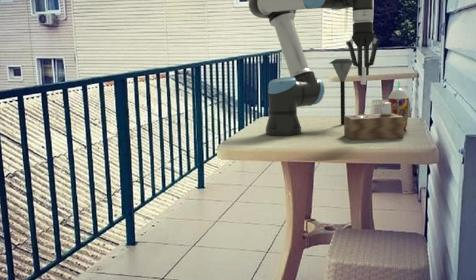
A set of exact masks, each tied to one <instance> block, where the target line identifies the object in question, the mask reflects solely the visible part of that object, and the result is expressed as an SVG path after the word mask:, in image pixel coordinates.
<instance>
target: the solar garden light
mask: <svg viewBox="0 0 476 280" xmlns="http://www.w3.org/2000/svg"><path fill="white" fill-rule="evenodd" d="M328 64H329V65H330V64H332V66H333V68H334V71H335V73H336V75H337V77H338V79H339V83H340V84H339V85H340V125H341V126H344V116H346V107H345V106H346V103H345V102H346V97H345V96H346V95H345V93H346V92H345V91H346V90H345V87H346V85H345V82H346V79H347V77H348V75H349V72H350V70H351V67H352V65H353V63H352V59H351V58H335V59H333V60H332V61H330V62H329V63H328Z"/></svg>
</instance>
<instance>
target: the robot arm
mask: <svg viewBox="0 0 476 280" xmlns="http://www.w3.org/2000/svg"><path fill="white" fill-rule="evenodd" d="M373 7H374V6H373V0H248V9H249V11H250V12H251V14H252V15H253V16H255V17H257V18H260V19H268V22H269V24H270V26H271V27H274V29H275V32H276V35H277V38H278V42H279V43H280V47H281V51H282V54H283V56H284V61H285V62H286V66H287V69H288V73H289V76H286V77H279V78H276V79H272V80H270V81H269V83H268V90H267V93H268V111H269V113H268V114H269V115H268V120H267V123H266V127H265V135H267V136H275V137H276V136H281V137H283V136H284V137H285V136H294V135H295V136H296V135H300V134H301V133H302V126H301V124H300V120H299V118H298V114H297V113H298V112H297V111H298V110H297V108H299V107H308V106H309V107H310V106H314V105H318V104H319V103H320V102H321V101H322V99H323V98H324V95H325V85H324V82H323V80H321V79H320V78H318V77H316V75H315V72H314V70H311V69H310V68H309V66H308V65H309V64H308V61H307V59H306V56H305V53H304V50H303V47H302V43H301V41H300V37H299V35H298V32H297V28H296V25H295V22H294V20H295V17H296V12H297V11H298V10H300V11H301V10H315V9H331V10H333V11H335V10H336V11H339V10H343V9H344V10H345V9H350V8H352V22H353V23H352V36H351V38H350V40H348V41H346V42H345V44H346V46H347V47H348V50H349V54H350V59H351V60H352V65H353V66H354V67H356V68H357V75H358V77H360V85H367V76H369V75H370V73H369V72H370V71H369V70H370V69H369V67H371V66H373V65H374V63H375V59H376V55H377V51H378V47H379V45H380V43H381V40H380V39H378V38H376V37H375V35H374V22H372V21H373V20H374V12H373V11H374V9H373ZM354 44H355V46H356V50H357V51H356V52H355V48H354V46H353V45H354ZM371 44H372V48H371V51H370V46H371ZM356 53H357V56H356Z"/></svg>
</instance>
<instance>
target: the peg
mask: <svg viewBox="0 0 476 280" xmlns="http://www.w3.org/2000/svg"><path fill="white" fill-rule="evenodd" d="M380 114H381V117H386V116H391V103H389V101H388V102H384V101H383V102H380Z"/></svg>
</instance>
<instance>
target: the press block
mask: <svg viewBox="0 0 476 280" xmlns="http://www.w3.org/2000/svg"><path fill="white" fill-rule="evenodd" d="M357 116H365V118H355V117H357ZM343 126H344V127H343V130H344V131H343V132H344V136H345V138H348V139H350V140H352V141H358V140H359V141H360V140H361V141H362V140H377V139H379V140H381V139H380V138H385V139H402V138H404V134H405V132H404V131H405V130H404V117H403V116H400V115H397V114H394V113H391V116H386V117H381V113H376V114H375V113H372V114H371V113H370V114H354V115H351V114H350V115H345V116H344V125H343Z"/></svg>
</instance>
